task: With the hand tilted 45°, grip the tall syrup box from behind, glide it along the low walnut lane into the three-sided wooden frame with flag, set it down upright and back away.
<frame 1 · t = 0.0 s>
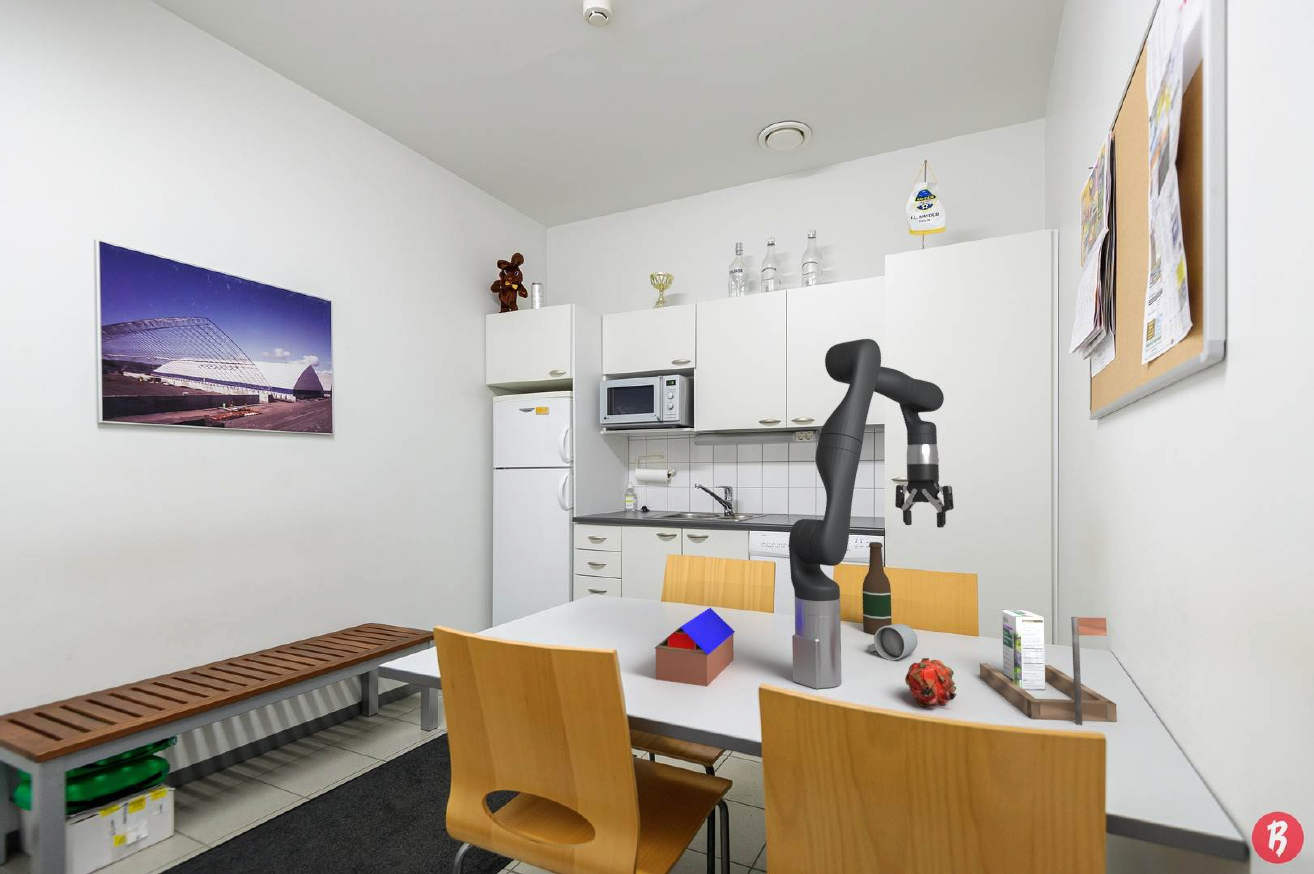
hand: (924, 526, 161), 29 cm above the table, tool pointing down, fingers open, 8 cm apart
beer bottle: (877, 632, 170), on the table
syrup box: (1024, 686, 127), on the table
ceramic mug: (891, 656, 148), on the table
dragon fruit: (931, 704, 118), on the table
house: (696, 671, 139), on the table
wooden frame with flag: (1052, 705, 117), on the table
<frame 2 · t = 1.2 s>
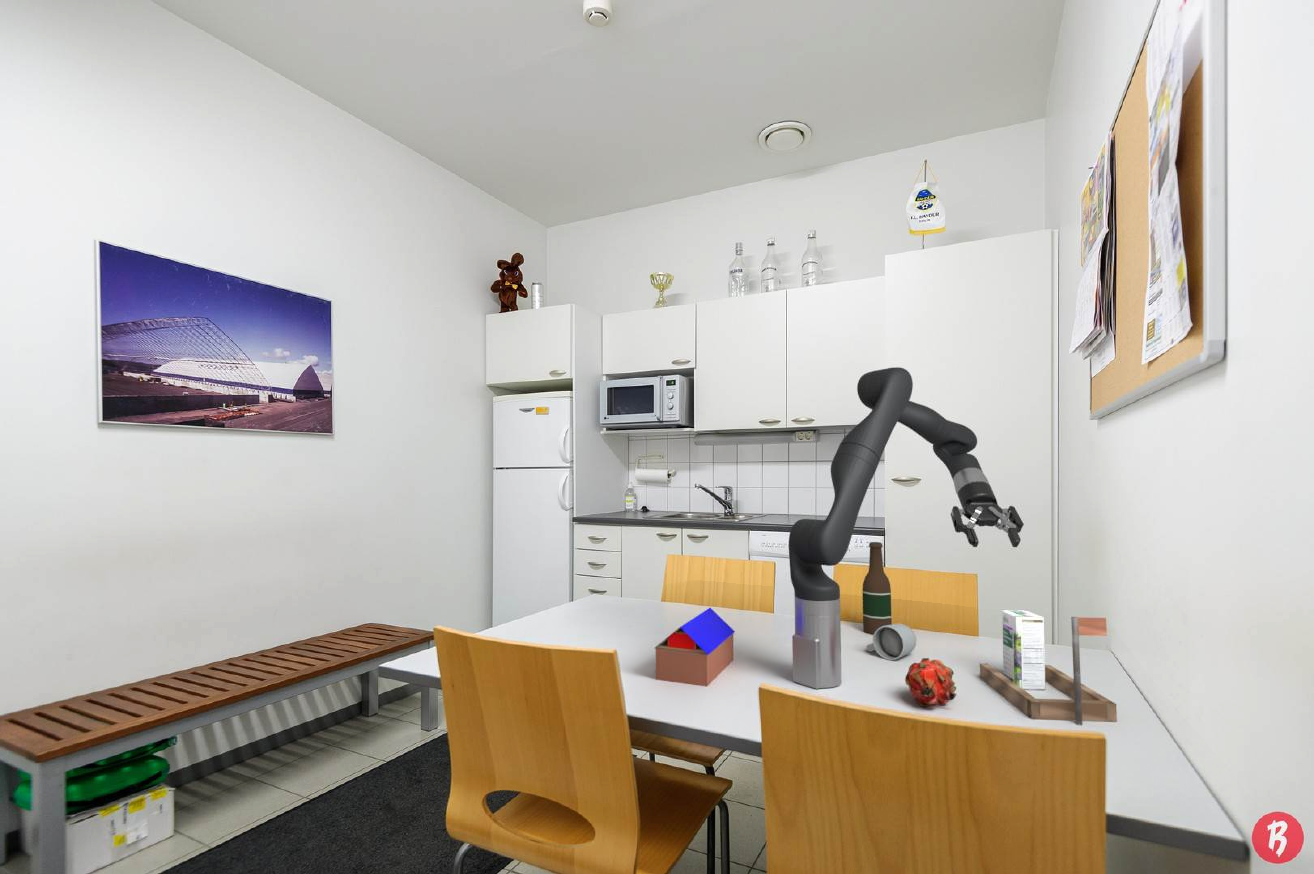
hand: (996, 544, 140), 27 cm above the table, tool tilted 45°, fingers open, 8 cm apart
nothing on the table moved.
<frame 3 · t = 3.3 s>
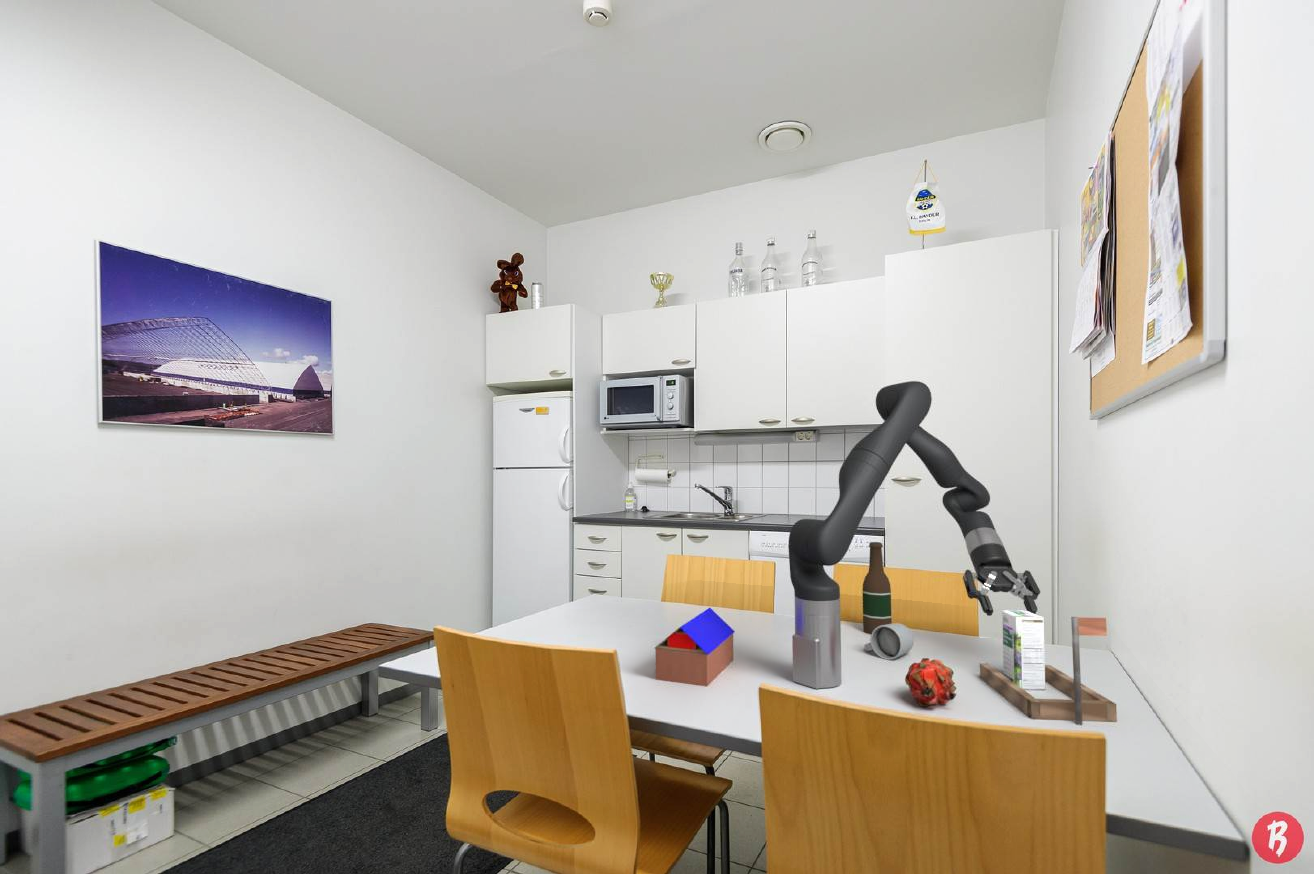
hand: (1011, 614, 133), 13 cm above the table, tool tilted 45°, fingers open, 8 cm apart
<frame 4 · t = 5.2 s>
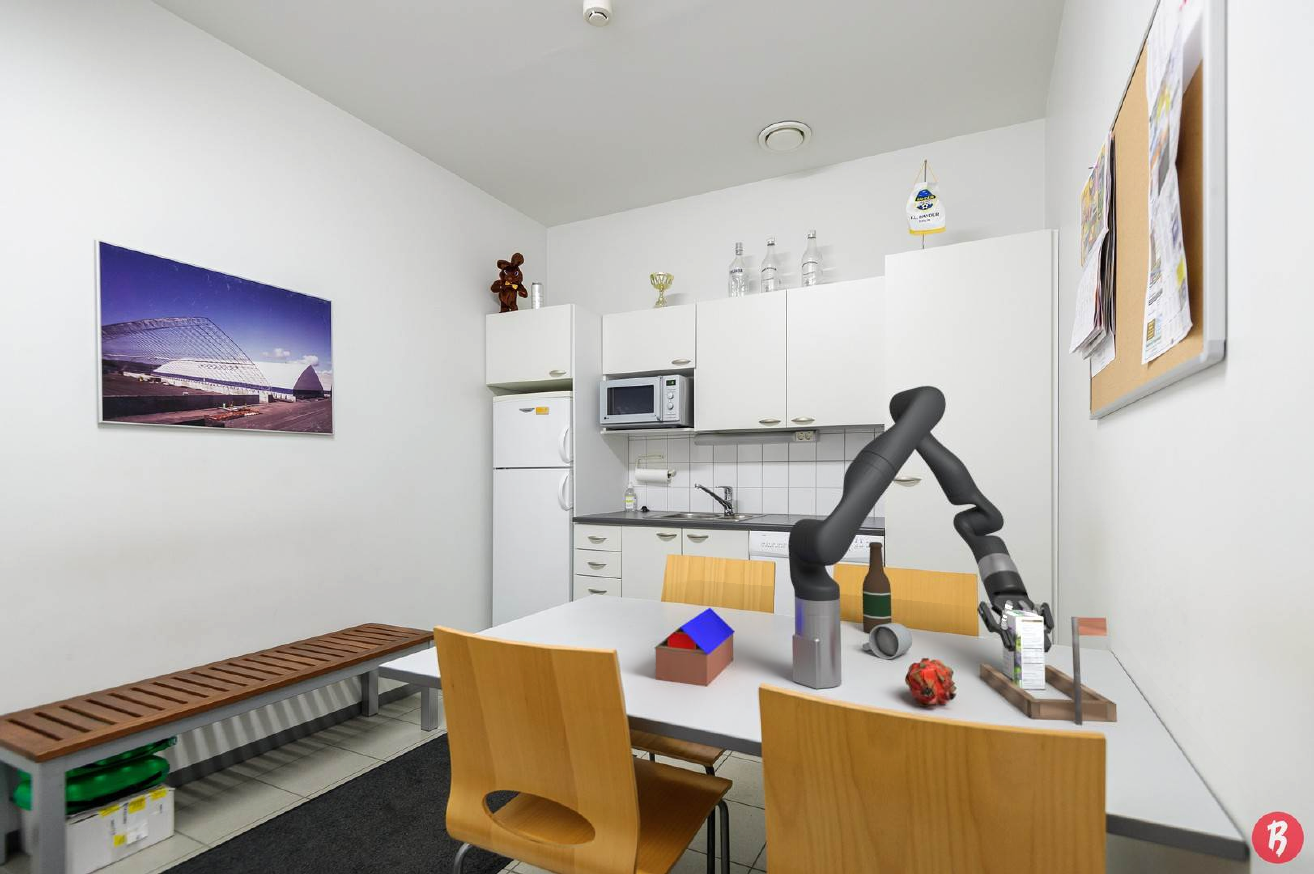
hand: (1029, 649, 125), 8 cm above the table, tool tilted 45°, fingers closed on syrup box, 6 cm apart
syrup box: (1024, 686, 127), on the table, touching gripper
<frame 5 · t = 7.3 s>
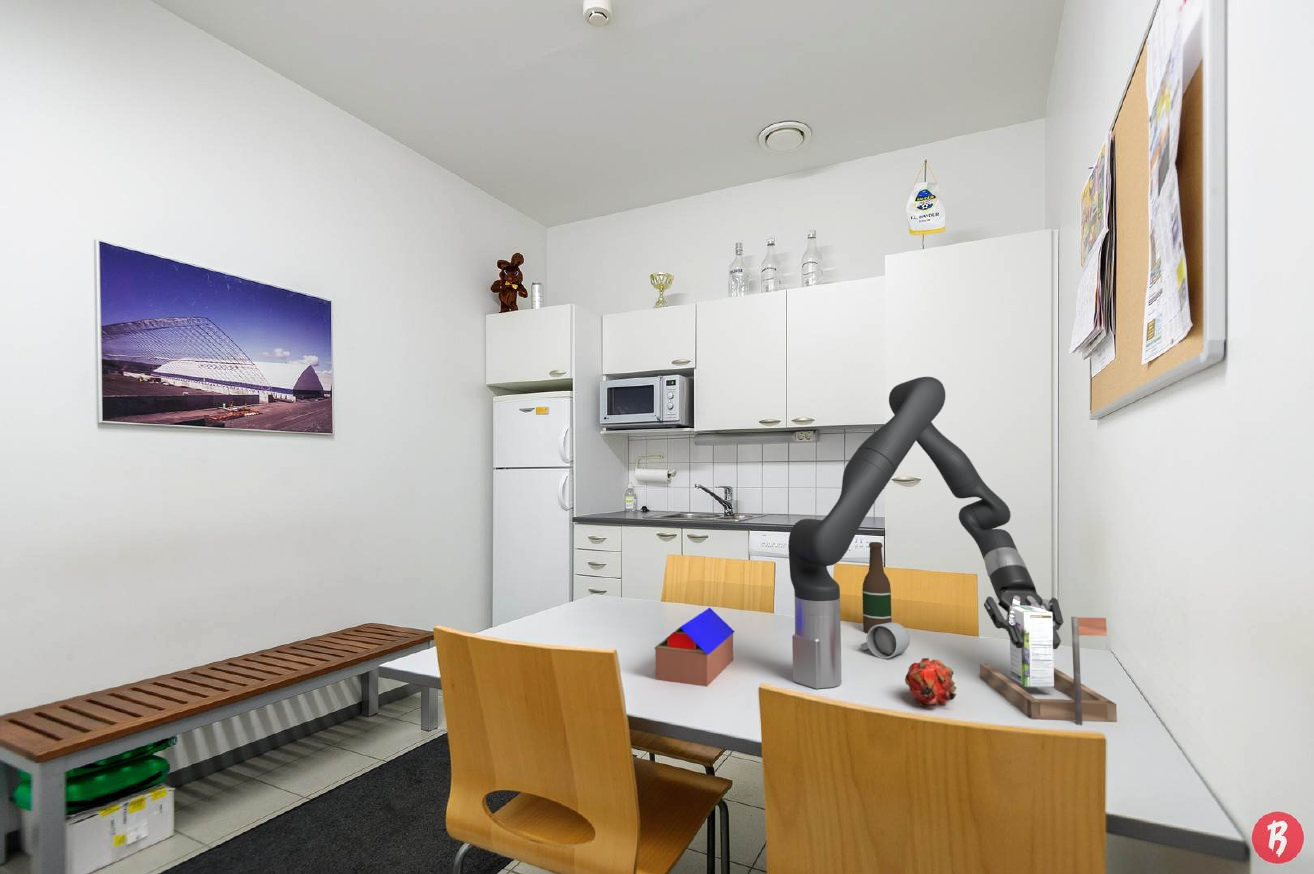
hand: (1038, 646, 122), 10 cm above the table, tool tilted 45°, fingers closed on syrup box, 6 cm apart
syrup box: (1032, 683, 124), point 2 cm above the table, touching gripper
when the fingers open (9 cm above the table, at t = 9.7 s): syrup box stays where it is, on the table.
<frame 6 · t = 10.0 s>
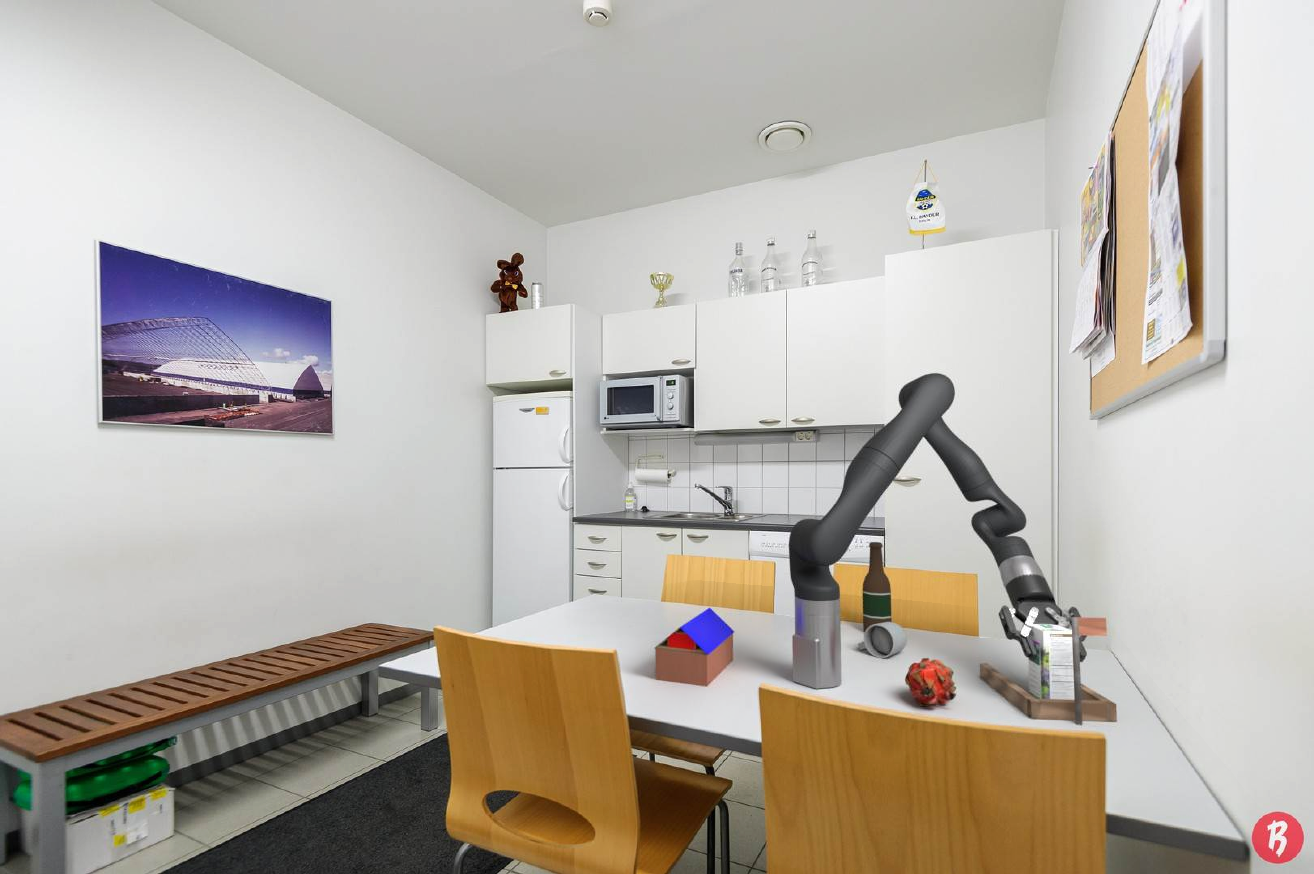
hand: (1057, 659, 115), 9 cm above the table, tool tilted 45°, fingers open, 8 cm apart
syrup box: (1052, 706, 117), on the table
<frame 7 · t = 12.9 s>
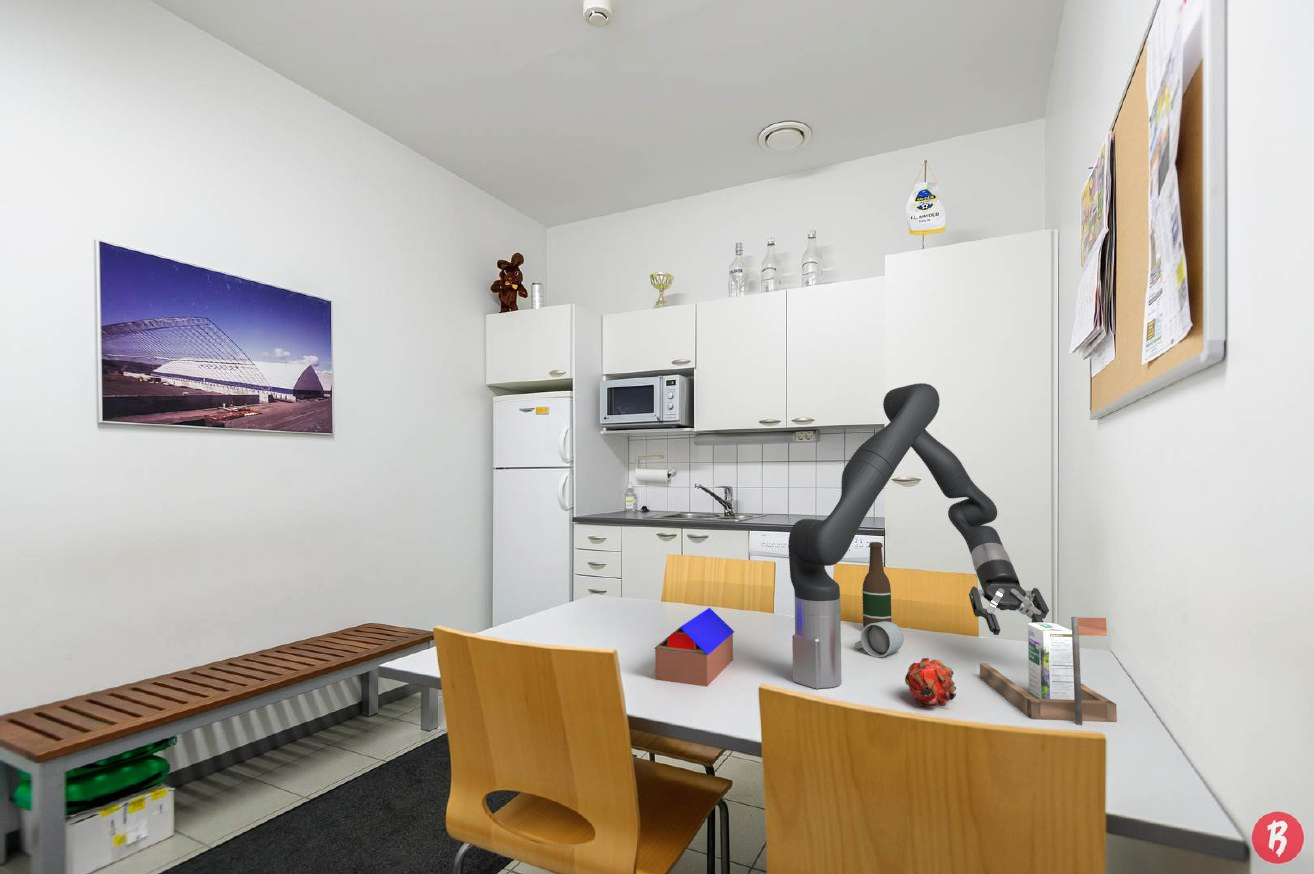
hand: (1019, 633, 128), 10 cm above the table, tool tilted 45°, fingers open, 8 cm apart
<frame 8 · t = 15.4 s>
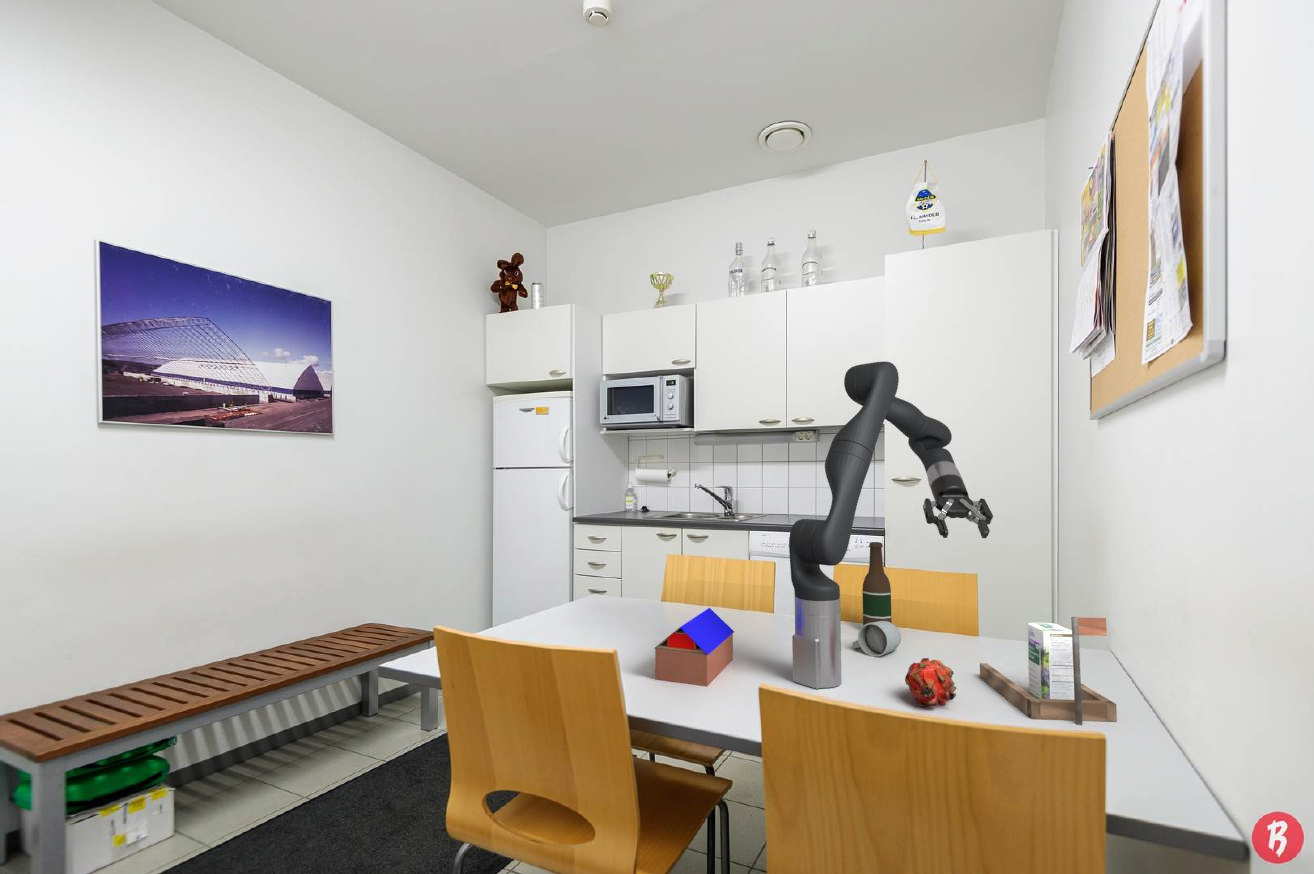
hand: (965, 535, 143), 29 cm above the table, tool tilted 45°, fingers open, 8 cm apart
at the end: syrup box 0.1 cm from the wooden frame with flag (horizontally); syrup box tilted 0°; the gripper is holding nothing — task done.
